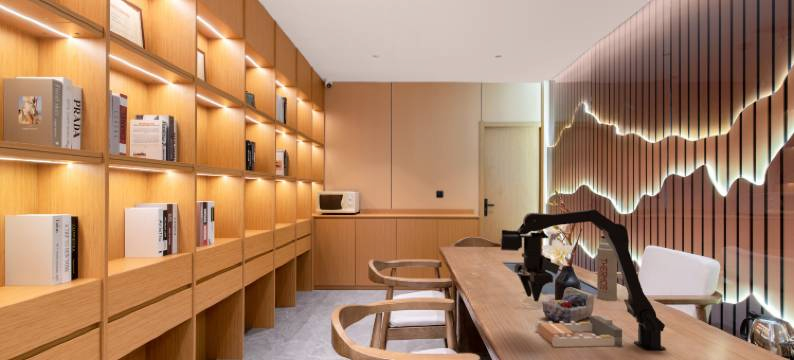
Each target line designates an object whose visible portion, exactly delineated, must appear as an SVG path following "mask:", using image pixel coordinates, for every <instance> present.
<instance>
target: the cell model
mask: <svg viewBox="0 0 794 360" xmlns="http://www.w3.org/2000/svg"><path fill="white" fill-rule="evenodd" d="M594 300H595V295H594V294H593V293H590V292H587V291H584V290H580V289H578V288H574V287H570V286H569V287H566V288H565V289H564V291H563V296H562V298H561V299H555V300H553V299H552V300H543V301H542V302H541V304H542V312H543V313H544V317H546V319H547V318H548V319H550V321H554V322H557V323H560V321H563V322H564V323H571V321H574V322H576V323H579V322H580V321H582V320H586V318H588V317H590V316H592V314H593V312H594V306H595V305H594V304H595V301H594Z"/></svg>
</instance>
